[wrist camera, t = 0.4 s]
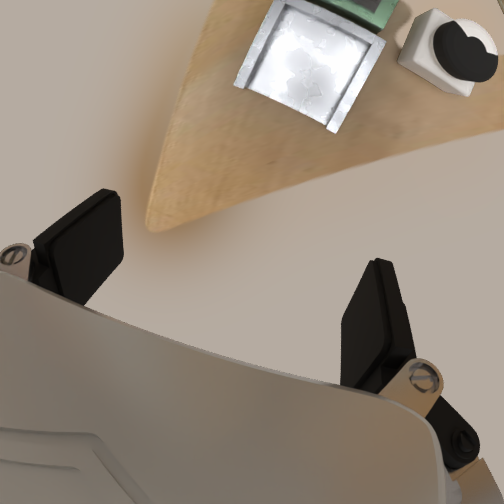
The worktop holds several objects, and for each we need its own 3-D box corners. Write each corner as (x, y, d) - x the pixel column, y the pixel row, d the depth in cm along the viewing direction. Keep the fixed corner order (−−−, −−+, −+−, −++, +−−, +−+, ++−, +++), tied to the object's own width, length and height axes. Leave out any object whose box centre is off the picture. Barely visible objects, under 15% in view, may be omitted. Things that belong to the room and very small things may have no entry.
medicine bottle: (444, 92, 28) (491, 104, 18) (395, 62, 28) (428, 58, 18) (463, 48, 24) (514, 45, 14) (414, 16, 24) (452, -4, 14)
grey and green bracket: (311, -52, 21) (308, -75, 16) (407, -6, 22) (424, -20, 17) (240, 83, 33) (224, 86, 28) (334, 128, 34) (337, 139, 28)
